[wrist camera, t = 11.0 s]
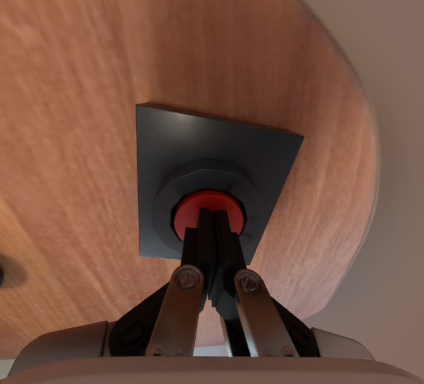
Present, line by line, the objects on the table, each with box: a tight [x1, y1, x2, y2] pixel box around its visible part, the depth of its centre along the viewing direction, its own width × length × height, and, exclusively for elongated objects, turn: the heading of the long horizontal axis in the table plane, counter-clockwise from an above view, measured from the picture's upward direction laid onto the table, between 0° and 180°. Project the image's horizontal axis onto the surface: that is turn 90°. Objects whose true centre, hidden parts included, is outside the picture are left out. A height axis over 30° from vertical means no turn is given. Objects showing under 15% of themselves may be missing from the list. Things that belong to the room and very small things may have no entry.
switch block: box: [136, 102, 304, 265], centre depth 13 cm, size 12×10×4 cm
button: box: [174, 188, 243, 241], centre depth 12 cm, size 4×4×2 cm
